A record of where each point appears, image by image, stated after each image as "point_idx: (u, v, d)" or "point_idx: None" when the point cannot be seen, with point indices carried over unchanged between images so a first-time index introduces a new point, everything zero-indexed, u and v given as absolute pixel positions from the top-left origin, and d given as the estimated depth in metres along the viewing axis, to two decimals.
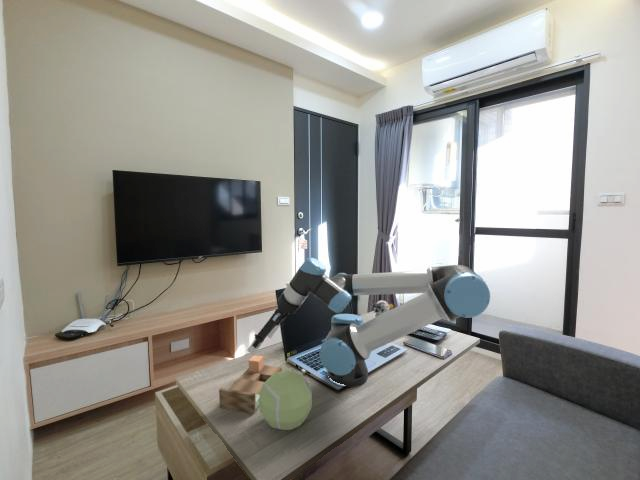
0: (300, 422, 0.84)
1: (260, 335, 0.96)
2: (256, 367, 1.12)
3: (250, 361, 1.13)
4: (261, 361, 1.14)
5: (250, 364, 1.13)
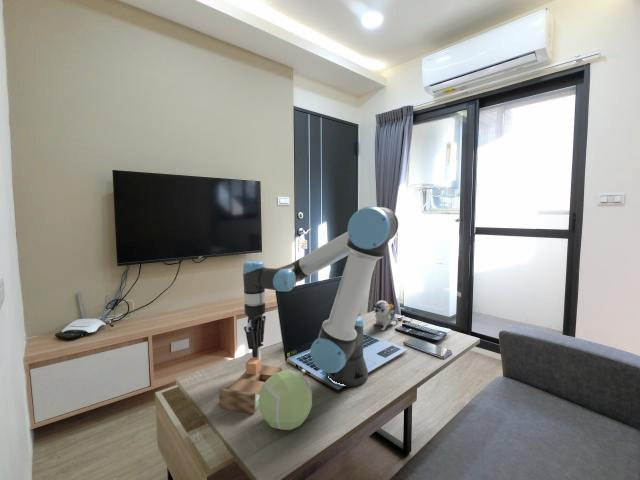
0: (300, 422, 0.84)
1: (250, 345, 1.10)
2: (253, 370, 1.10)
3: (247, 364, 1.11)
4: (258, 364, 1.12)
5: (247, 367, 1.11)
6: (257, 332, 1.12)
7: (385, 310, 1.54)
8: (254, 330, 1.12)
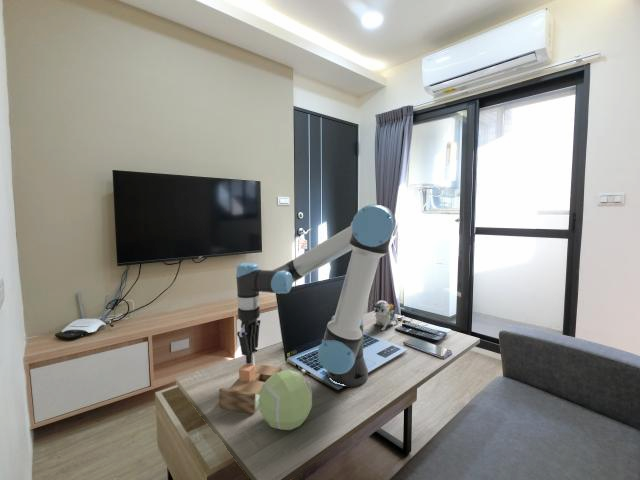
0: (300, 422, 0.84)
1: (243, 351, 1.06)
2: (246, 376, 1.06)
3: (240, 370, 1.06)
4: (252, 370, 1.08)
5: (240, 373, 1.06)
6: (251, 337, 1.08)
7: (385, 310, 1.54)
8: (248, 335, 1.07)
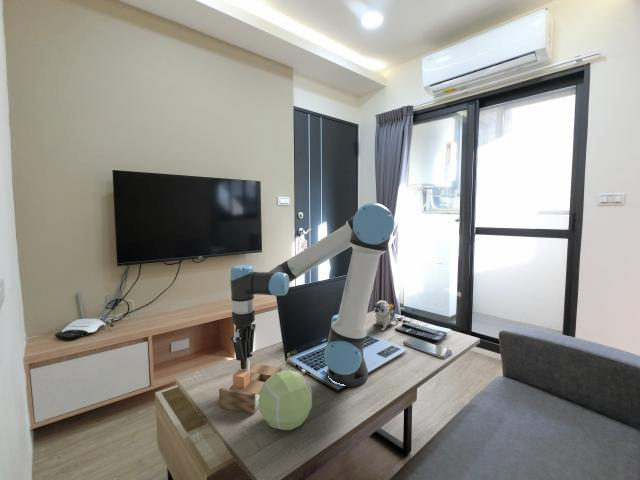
0: (300, 422, 0.84)
1: (238, 357, 1.02)
2: (240, 383, 1.02)
3: (234, 376, 1.03)
4: (247, 376, 1.04)
5: (234, 379, 1.03)
6: (246, 342, 1.04)
7: (385, 310, 1.54)
8: (242, 340, 1.03)
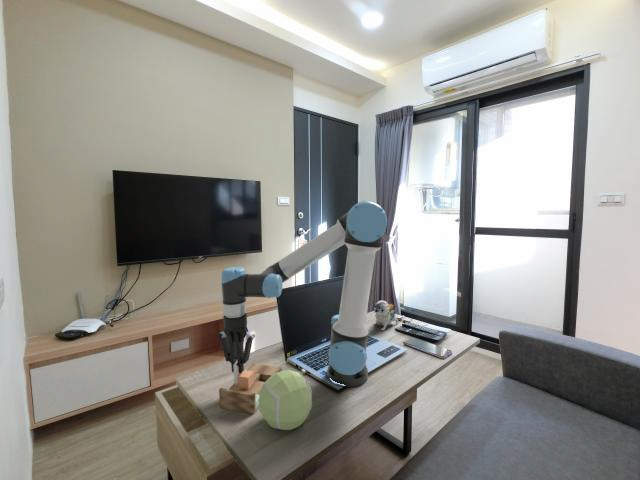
0: (300, 422, 0.84)
1: None
2: (245, 383, 1.02)
3: (239, 377, 1.02)
4: (251, 377, 1.03)
5: (239, 380, 1.02)
6: (232, 346, 1.02)
7: (385, 310, 1.54)
8: None
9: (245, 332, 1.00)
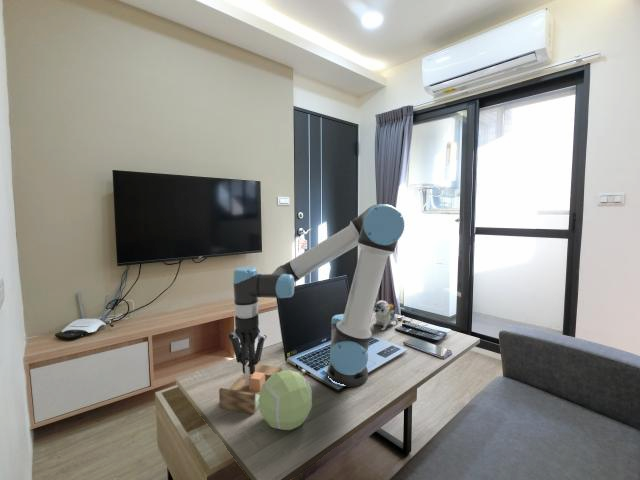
0: (300, 422, 0.84)
1: None
2: (256, 385, 1.00)
3: (250, 379, 1.01)
4: (262, 378, 1.02)
5: (250, 382, 1.01)
6: (243, 347, 1.01)
7: (385, 310, 1.54)
8: None
9: (257, 333, 0.99)
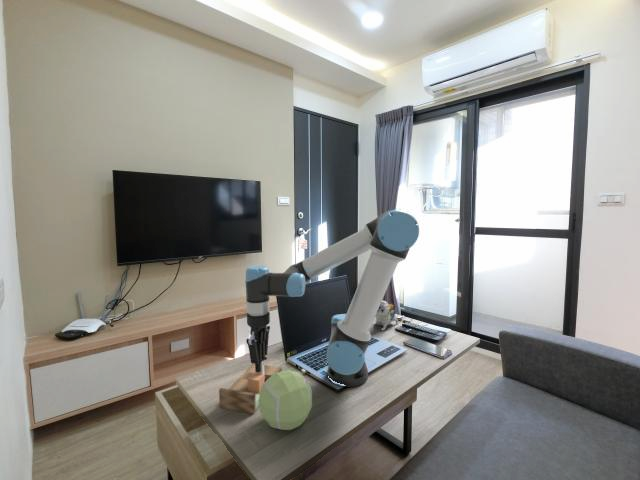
0: (300, 422, 0.84)
1: (253, 360, 1.00)
2: (256, 386, 1.00)
3: (249, 380, 1.00)
4: (262, 380, 1.02)
5: (249, 383, 1.00)
6: (261, 345, 1.02)
7: (385, 310, 1.54)
8: (257, 342, 1.01)
9: None
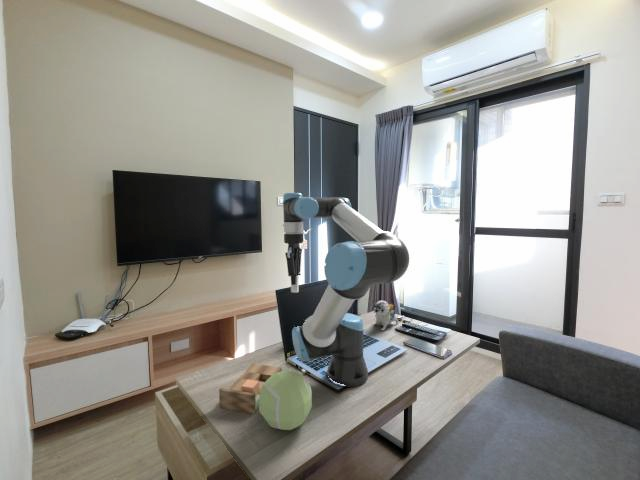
0: (300, 422, 0.84)
1: (290, 272, 1.17)
2: None
3: (243, 387, 0.96)
4: (256, 387, 0.98)
5: (243, 391, 0.96)
6: (296, 260, 1.19)
7: (385, 310, 1.54)
8: (293, 258, 1.19)
9: None
